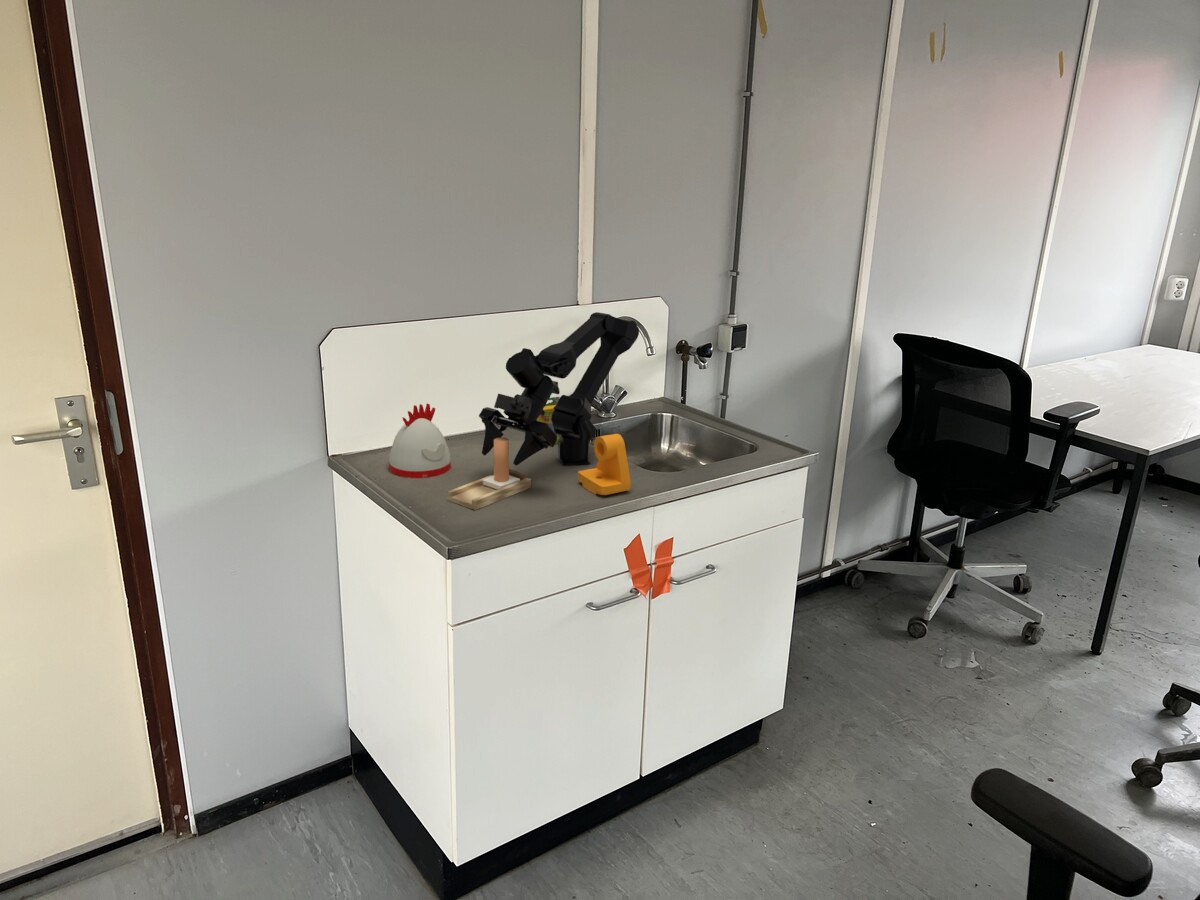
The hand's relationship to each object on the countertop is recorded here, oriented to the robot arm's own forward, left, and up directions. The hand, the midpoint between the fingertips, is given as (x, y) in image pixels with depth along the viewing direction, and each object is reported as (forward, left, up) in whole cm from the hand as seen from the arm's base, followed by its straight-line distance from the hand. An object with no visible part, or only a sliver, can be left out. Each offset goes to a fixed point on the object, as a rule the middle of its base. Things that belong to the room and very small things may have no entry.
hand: (498, 459), depth 189 cm
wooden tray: (+2, +2, -7) cm, 8 cm away
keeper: (-1, -1, -6) cm, 6 cm away
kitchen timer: (+16, -17, -7) cm, 24 cm away
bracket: (-23, +1, -7) cm, 24 cm away
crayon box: (-16, -30, -7) cm, 34 cm away
